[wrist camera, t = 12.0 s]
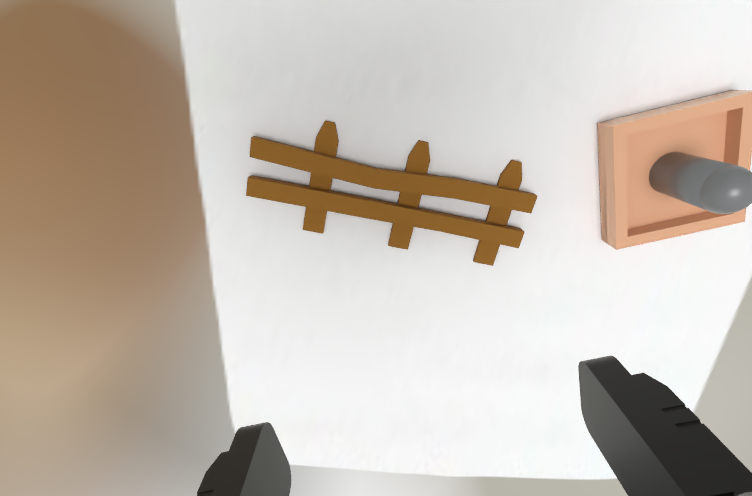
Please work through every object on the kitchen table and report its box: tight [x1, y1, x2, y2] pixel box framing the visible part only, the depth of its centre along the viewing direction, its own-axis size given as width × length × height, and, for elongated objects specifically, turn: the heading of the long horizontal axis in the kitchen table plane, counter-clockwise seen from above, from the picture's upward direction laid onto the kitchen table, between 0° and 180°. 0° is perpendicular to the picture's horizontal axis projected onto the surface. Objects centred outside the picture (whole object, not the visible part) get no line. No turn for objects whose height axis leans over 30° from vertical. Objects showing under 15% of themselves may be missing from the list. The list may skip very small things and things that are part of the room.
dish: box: [597, 90, 752, 250], centre depth 35 cm, size 11×11×2 cm
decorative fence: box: [246, 121, 537, 265], centre depth 37 cm, size 25×2×10 cm
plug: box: [649, 152, 752, 214], centre depth 32 cm, size 4×4×8 cm
